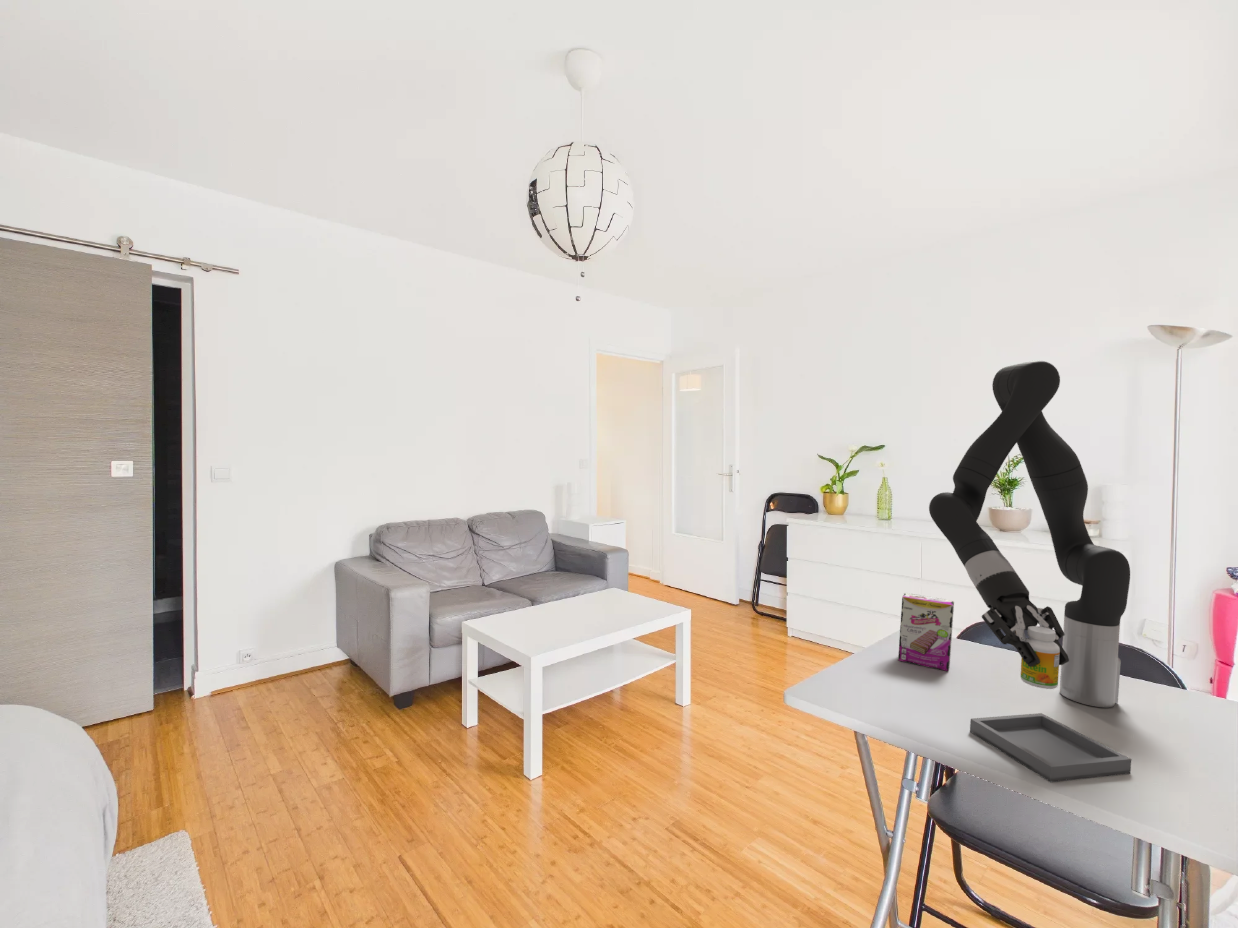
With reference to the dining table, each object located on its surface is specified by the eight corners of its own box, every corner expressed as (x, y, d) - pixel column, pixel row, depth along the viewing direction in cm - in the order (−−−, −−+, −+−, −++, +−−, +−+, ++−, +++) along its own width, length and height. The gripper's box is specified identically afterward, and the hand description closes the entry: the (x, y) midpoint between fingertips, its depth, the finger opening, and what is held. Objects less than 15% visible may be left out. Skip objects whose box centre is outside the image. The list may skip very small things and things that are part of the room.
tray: (1040, 725, 109) (1041, 713, 109) (1130, 773, 94) (1131, 758, 94) (969, 731, 106) (970, 718, 106) (1050, 782, 91) (1051, 766, 90)
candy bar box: (897, 661, 141) (901, 596, 140) (900, 655, 145) (903, 592, 144) (949, 672, 135) (953, 604, 134) (950, 665, 139) (954, 599, 138)
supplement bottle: (1015, 681, 102) (1018, 628, 101) (1026, 674, 105) (1029, 622, 105) (1051, 692, 97) (1054, 636, 97) (1062, 684, 101) (1065, 630, 100)
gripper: (975, 570, 106) (1029, 657, 95) (1039, 568, 109) (1099, 652, 98) (952, 590, 112) (1001, 675, 101) (1013, 588, 115) (1068, 670, 103)
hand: (1049, 663), depth 99 cm, fingers closed on supplement bottle, 5 cm apart
